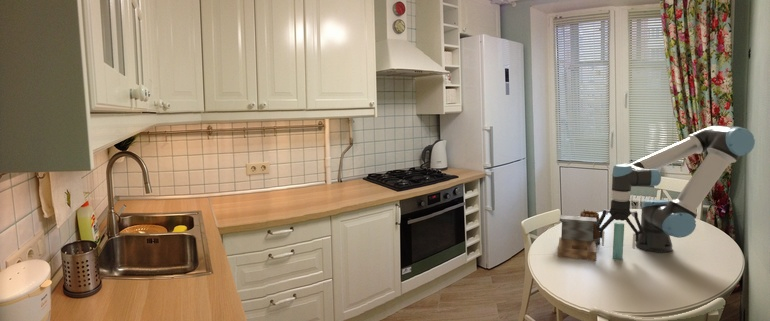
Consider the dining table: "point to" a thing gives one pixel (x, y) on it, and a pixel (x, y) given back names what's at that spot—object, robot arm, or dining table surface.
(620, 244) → the peg
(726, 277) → the dining table surface
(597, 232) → the mug
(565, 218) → the socket block
